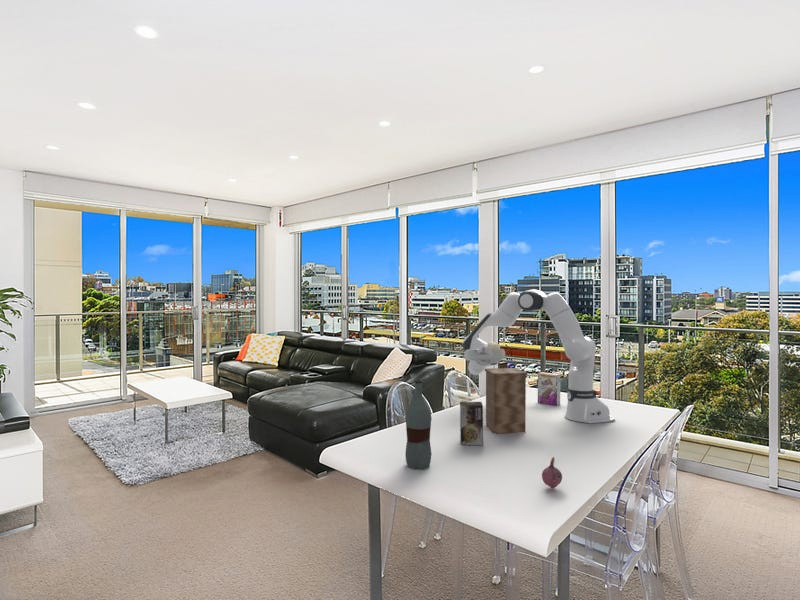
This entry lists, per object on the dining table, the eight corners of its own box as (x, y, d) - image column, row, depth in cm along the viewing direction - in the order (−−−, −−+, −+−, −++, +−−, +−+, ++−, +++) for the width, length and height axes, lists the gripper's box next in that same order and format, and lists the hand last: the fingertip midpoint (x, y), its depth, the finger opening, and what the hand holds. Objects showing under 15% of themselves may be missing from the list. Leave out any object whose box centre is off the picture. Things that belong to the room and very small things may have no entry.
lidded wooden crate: (516, 424, 215) (516, 368, 215) (527, 432, 202) (527, 372, 202) (484, 425, 214) (484, 368, 213) (493, 433, 201) (493, 373, 200)
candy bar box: (537, 402, 258) (537, 373, 258) (541, 401, 262) (541, 371, 262) (556, 405, 251) (557, 375, 250) (560, 404, 254) (560, 374, 254)
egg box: (490, 351, 236) (490, 339, 236) (501, 355, 219) (501, 343, 219) (481, 351, 236) (481, 339, 236) (492, 355, 219) (492, 343, 218)
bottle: (435, 468, 161) (435, 381, 161) (410, 471, 158) (410, 383, 158) (426, 459, 170) (426, 377, 170) (402, 462, 167) (402, 378, 167)
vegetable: (551, 494, 141) (551, 461, 140) (537, 486, 146) (537, 454, 146) (566, 490, 143) (566, 458, 143) (552, 483, 149) (552, 452, 149)
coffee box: (482, 440, 192) (482, 401, 191) (483, 445, 185) (483, 405, 185) (459, 440, 193) (459, 400, 192) (460, 445, 186) (460, 404, 186)
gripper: (461, 353, 244) (467, 342, 232) (499, 352, 247) (507, 342, 235) (462, 364, 241) (468, 354, 229) (501, 364, 244) (509, 354, 232)
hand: (488, 348), depth 232 cm, fingers closed on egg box, 4 cm apart
